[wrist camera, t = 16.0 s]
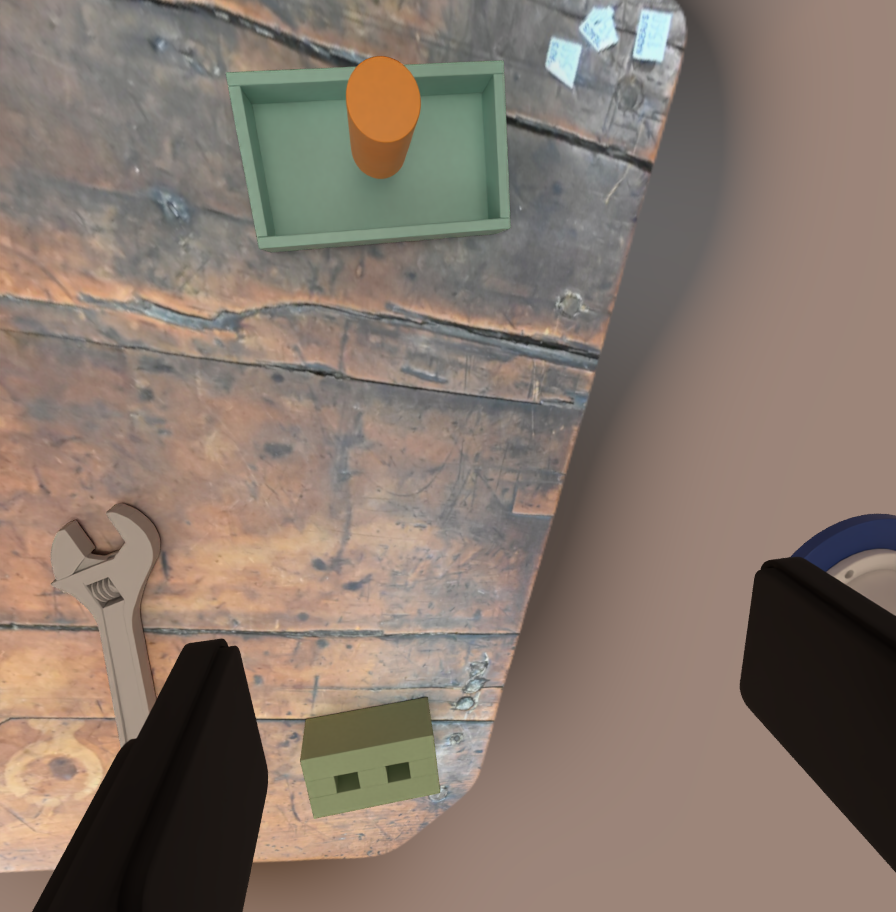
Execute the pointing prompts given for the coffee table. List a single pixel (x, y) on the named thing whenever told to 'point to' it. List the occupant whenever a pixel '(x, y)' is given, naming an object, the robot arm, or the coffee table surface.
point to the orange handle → (381, 115)
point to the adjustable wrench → (114, 605)
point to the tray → (342, 182)
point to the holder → (369, 757)
